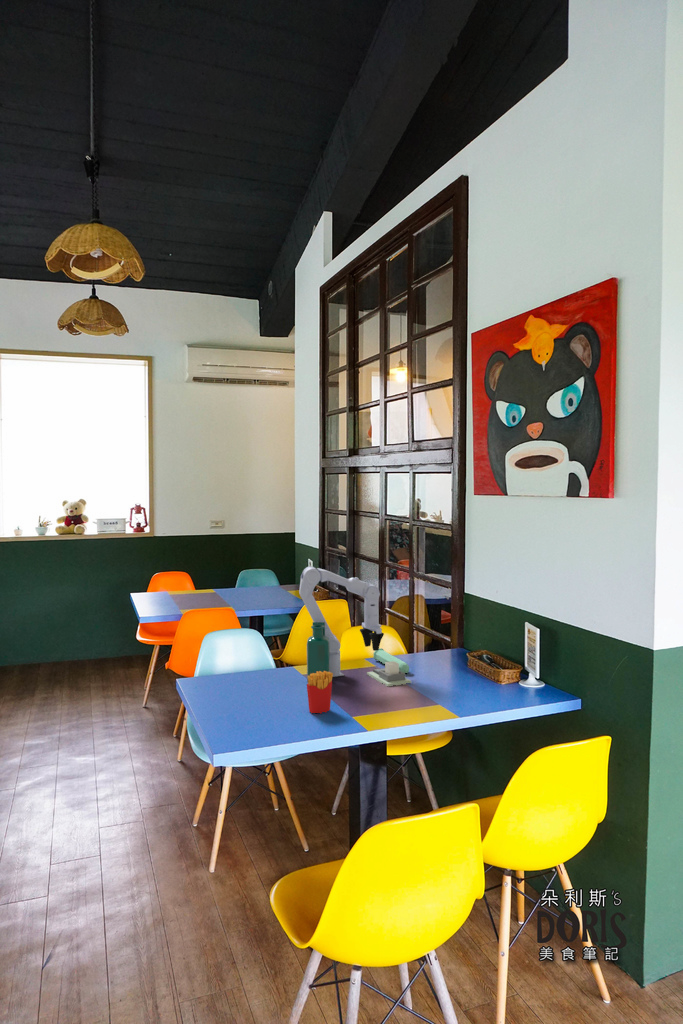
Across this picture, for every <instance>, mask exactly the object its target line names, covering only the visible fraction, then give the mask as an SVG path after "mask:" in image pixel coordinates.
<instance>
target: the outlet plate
mask: <svg viewBox="0 0 683 1024" xmlns="http://www.w3.org/2000/svg"><path fill="white" fill-rule="evenodd" d="M366 675H367V676H369V677H370V678H372V679H373V680H375V681H377V682H378V683H380V684H382V683H383V684H382V685H384V684H385V685H384V686H385V687H387V686H388V687H394V686H393V685H396V686H401V684H403V685H407V684H406V683H411V684H412V680H411V679H409V678H407V677H406V674H405V673H403V672H401V671H400V670H399V674H391V675H388V674H387V673H385V667H383V668H377V669H375V668H374V669H372V671H366Z"/></svg>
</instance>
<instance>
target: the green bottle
mask: <svg viewBox="0 0 683 1024" xmlns="http://www.w3.org/2000/svg"><path fill="white" fill-rule="evenodd" d="M310 628H311V629H312V635H311V636H309V637H308V638H307V642H306V675H307V677H306V678H307V679H306V680H307V684H308V676H310V674H312V673H316V671H318V672H319V671H321V672H324V671H327V672H330V641H329V638H328V637H326V636H325V622H314V621H312V625H311V627H310Z"/></svg>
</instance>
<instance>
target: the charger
mask: <svg viewBox="0 0 683 1024" xmlns="http://www.w3.org/2000/svg"><path fill="white" fill-rule="evenodd" d="M384 668H385V673H387V674H388V675H391V674H399V663H397V662H395V661H392V662H385V665H384Z"/></svg>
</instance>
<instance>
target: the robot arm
mask: <svg viewBox="0 0 683 1024" xmlns="http://www.w3.org/2000/svg"><path fill="white" fill-rule="evenodd" d="M319 582H321V583H325V582H332V583H334V584H337V585H340V586H343V587H345V588H346V590H347V591H348V592H350V593H352V594H356V595H358V596H360V597H364V604H363V606H364V608H363V610H364V611H363V612H364V615H363V616H364V617H363V619H364V620H363V621H364V622H361V628H360V629H359V632H360V634H361V636H362V639H363V643H364V647H372V651H373V652H375V651H376V650H379V649H380V645H381V641H382V639H383V637H384V635H385V634H384V632H382V624H380V623H379V618H380V615H379V612H380V611H379V610H380V609H379V598H380V596H381V592H380V590H379V588H378V586H377V585H376V586H375V585H374V584H373V583H370V582H368V581H366V582H365V581H363V580H360V579H359V577H356V576H355V577H350V578H346V577H344V576H341V575H338V574H336V573H334V572H332V571H329V570H326V569H324V568H323V569H322V568H320V567H317V568H316V567H315V566H311V565H309V566H306V567H305V568H304V569H303V570H302V573H301V575H300V582H299V590H298V593H299V596H300V598H301V599H302V602H303V603H304V605H305V608H306V609H307V612H308V613H309V615H310V617H311V619H312V622H325V636H326V637H328V638H329V641H330V673H333V677H332V678H336V677H342V676H345V674H344V673H342V672H341V650H340V649H341V643H340V640H339V639H338V638H337V636H336V634H334V633H333V632H332V630H331V628H330V626H329V624H328V623H327V621H326V619H325V616H324V615H323V613H322V610H321V609H320V606H319V605H318V603H317V601H316V599H315V597H314V595H313V592H314V589H315V587H316V586H317V585H318V584H319Z"/></svg>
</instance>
